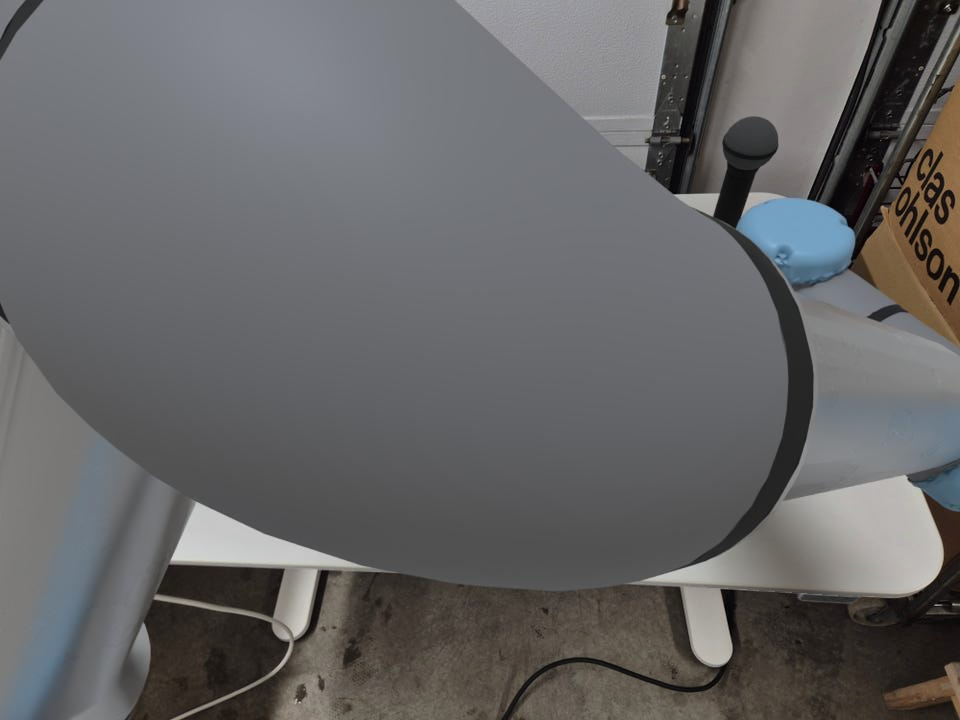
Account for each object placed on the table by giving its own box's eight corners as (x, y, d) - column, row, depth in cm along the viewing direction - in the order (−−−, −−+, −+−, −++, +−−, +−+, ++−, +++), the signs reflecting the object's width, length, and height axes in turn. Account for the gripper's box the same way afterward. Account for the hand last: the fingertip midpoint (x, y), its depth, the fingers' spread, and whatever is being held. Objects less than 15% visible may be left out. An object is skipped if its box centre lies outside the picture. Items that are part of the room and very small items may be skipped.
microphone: (685, 238, 92) (719, 111, 76) (725, 229, 92) (766, 102, 77) (707, 266, 87) (747, 138, 72) (749, 257, 88) (797, 128, 73)
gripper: (578, 398, 56) (406, 286, 67) (680, 295, 64) (510, 209, 75) (585, 344, 50) (395, 231, 61) (696, 238, 58) (509, 154, 69)
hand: (459, 219), depth 68 cm, fingers closed on box, 4 cm apart
